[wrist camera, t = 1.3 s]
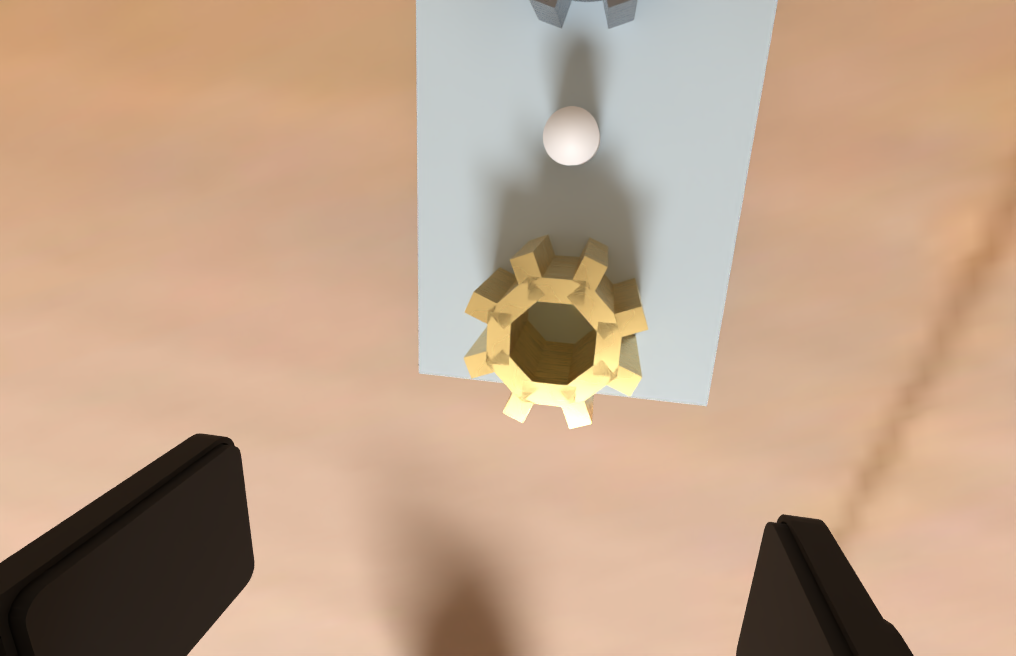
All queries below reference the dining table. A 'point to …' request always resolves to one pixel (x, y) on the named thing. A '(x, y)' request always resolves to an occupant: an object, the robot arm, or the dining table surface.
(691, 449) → the dining table surface
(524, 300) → the brass gear
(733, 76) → the board
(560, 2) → the steel gear
